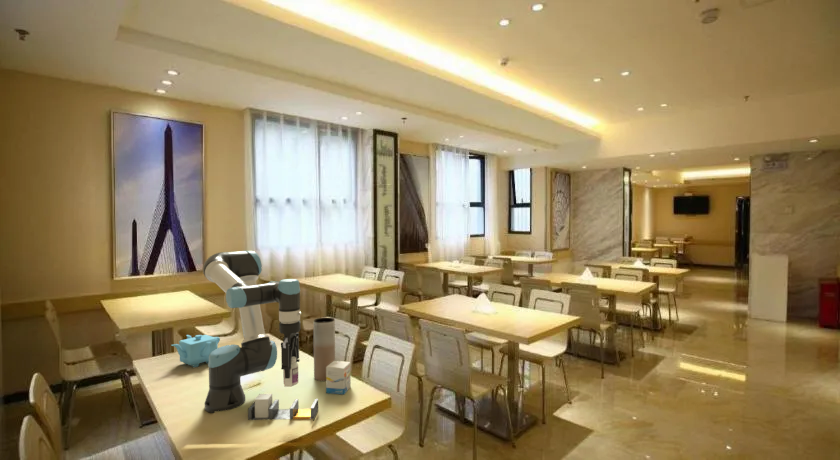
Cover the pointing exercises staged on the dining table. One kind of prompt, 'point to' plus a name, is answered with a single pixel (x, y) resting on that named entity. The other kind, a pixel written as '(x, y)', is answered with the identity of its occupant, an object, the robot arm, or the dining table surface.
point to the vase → (323, 346)
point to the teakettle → (196, 349)
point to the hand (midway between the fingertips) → (291, 382)
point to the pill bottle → (294, 371)
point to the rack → (286, 411)
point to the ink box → (338, 377)
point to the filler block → (263, 405)
